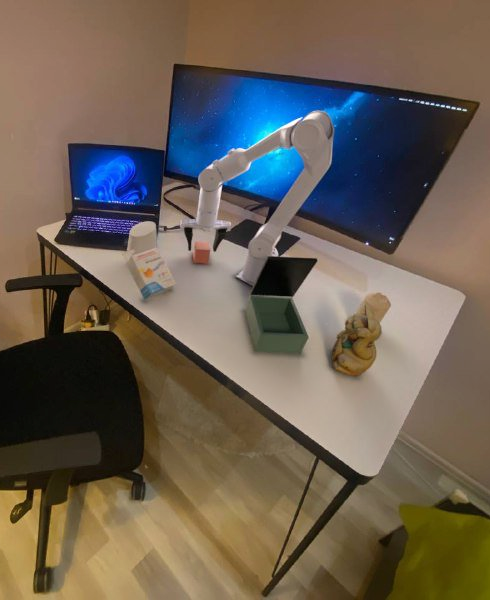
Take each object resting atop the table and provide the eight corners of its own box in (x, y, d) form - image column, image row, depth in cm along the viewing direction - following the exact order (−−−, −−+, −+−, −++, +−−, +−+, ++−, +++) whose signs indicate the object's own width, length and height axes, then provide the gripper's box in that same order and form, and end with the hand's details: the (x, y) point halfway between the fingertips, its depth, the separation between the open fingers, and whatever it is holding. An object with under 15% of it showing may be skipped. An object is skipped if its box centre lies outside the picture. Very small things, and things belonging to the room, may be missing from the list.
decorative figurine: (326, 344, 83) (352, 296, 73) (363, 352, 81) (395, 305, 71) (329, 375, 76) (358, 327, 66) (370, 385, 74) (406, 338, 64)
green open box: (300, 354, 80) (308, 337, 77) (254, 351, 81) (260, 334, 77) (285, 313, 91) (292, 297, 87) (245, 311, 91) (249, 295, 87)
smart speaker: (129, 256, 110) (129, 215, 100) (158, 258, 109) (160, 218, 100) (124, 274, 103) (123, 232, 93) (155, 277, 102) (157, 235, 92)
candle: (351, 330, 86) (369, 300, 80) (349, 316, 90) (366, 286, 84) (375, 336, 85) (395, 306, 78) (372, 322, 89) (391, 292, 82)
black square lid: (317, 261, 74) (313, 243, 77) (267, 258, 74) (264, 242, 77) (293, 297, 86) (289, 281, 89) (250, 295, 87) (248, 279, 89)
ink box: (150, 294, 89) (125, 245, 91) (144, 300, 94) (120, 253, 96) (176, 283, 93) (152, 236, 95) (169, 290, 97) (146, 245, 99)
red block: (206, 255, 111) (209, 242, 107) (208, 263, 107) (210, 249, 104) (193, 255, 111) (194, 241, 107) (193, 262, 107) (195, 249, 104)
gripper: (183, 214, 95) (178, 256, 104) (236, 216, 95) (227, 257, 104) (181, 203, 100) (177, 243, 109) (232, 204, 100) (224, 244, 109)
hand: (201, 249), depth 107 cm, fingers open, 7 cm apart
